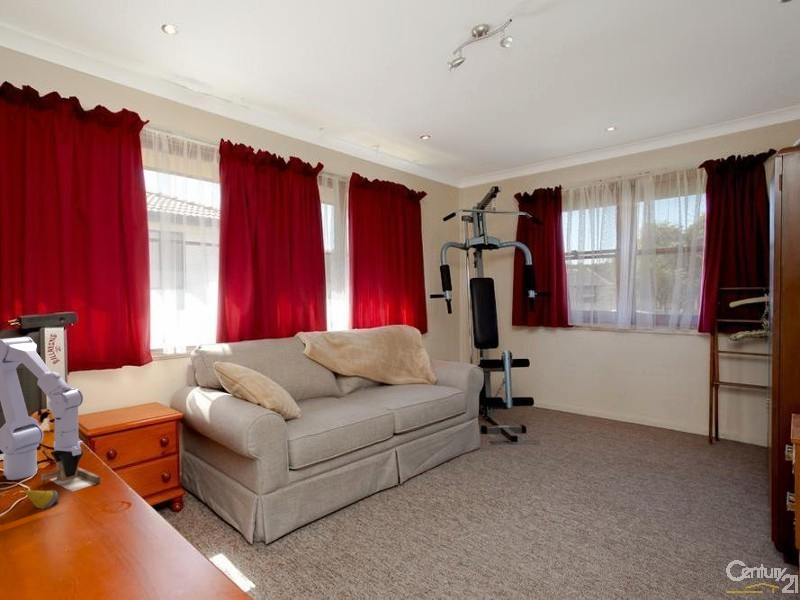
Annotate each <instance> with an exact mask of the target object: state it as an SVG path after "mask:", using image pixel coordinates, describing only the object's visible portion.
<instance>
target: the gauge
mask: <svg viewBox="0 0 800 600" xmlns="http://www.w3.org/2000/svg"><path fill="white" fill-rule="evenodd" d="M56 463H57V464H56ZM55 464H56V470H53V471H51V472H47V473H43V474H41V475H40V479H41V480H42V483H43V484H44V483H46V480H47V479H53V478H57V479H59V480H61V481H65V480H68V479H72V478H75V477H78V467H79V466H78V465H79V464H78V465H77V469H76V473H75V475H74V476H71V477H66V476H65V471H64V466H63V463H62V461H59V462H56V461H55Z"/></svg>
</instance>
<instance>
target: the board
mask: <svg viewBox="0 0 800 600" xmlns="http://www.w3.org/2000/svg"><path fill="white" fill-rule="evenodd" d="M49 481H50V482H53V483H55V484H56V485H58V486H61V487H63V488H65V489H66V490H68V491H70V492H71V493H72V492H76V491H79V490H82V489H85V488H88V487H91V486H95V485H97V484H100V483H101V476H100V475H98V474H96V473H93V472H91V471H88V470H86V469H84V468H82V467H80V466H78V477H75V478H72V479H68V480H65V481H61V480H59V479H57V477H52V478H49Z"/></svg>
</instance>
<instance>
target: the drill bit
mask: <svg viewBox="0 0 800 600" xmlns="http://www.w3.org/2000/svg"><path fill="white" fill-rule="evenodd" d="M23 492H24V493H25V495H26V496H27V497H28V498H29V500H30V501H31V502H32V503H33V505H34V506H35V508H36V509H44V510H42V511H40V512H45V511H46V510H45V509H47V508H51V507H52V506H53V505H54V504H56V503H58V502H59V501H60V500H61V499H60V498H58V494H59V493H58V491H56V490H55V489H49V490H35V489H34V490H32V489H31V490H28V489H26V490H25V489H24V490H23Z"/></svg>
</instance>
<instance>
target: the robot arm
mask: <svg viewBox="0 0 800 600" xmlns="http://www.w3.org/2000/svg"><path fill="white" fill-rule="evenodd" d="M37 345H38V344H37V343H35V341H34V340H33V339H32V338H31V337H29V336H21V337H10V338H9V337H8V338H0V405H1V408H2V412H3V417H4V420H5V423H4V424H3V425H2V426H1V427H0V451H1V452H2V453H3V455H4V456H3V458H2V459H3V460H2V461H3V462H2V463H3V465H2V466H3V476H5V477H6V480H8V481H9V480H11V481H15V480H22V479H25V478H29V477H32V476H34V475H36V474H37V473H38V457H37V456H38V453H37V452H38V451H37V450H38V449H37V448H38V447H40V443H42V441H43V440H44V430H43V427H41V426H40V424H39V421H38V419H36V418H34V417H31V416H29V414H28V409H27V406H26V405H27V404H26V403H25V398H24V393H23V391H22V390H23V389H22V387H21V383H20V379H19V376H18V373H17V368H18V366H19V365H20V364H22V365H24V366H25V367H26V368H27V369H28V370H29V371H30V372H31V373H32V374H33V375H34V376H35V377H36V378H37V386H38V387H39V388H40V389H41V391H42V392H43V393H44V394H45V395H46V397H48V399H49V400H50V401H48V405H49V408H50V409H51V412H52V417H54V441H53V443H52V444H53V445H52V446H53V449H54V451H51V452H50V454H51V456H52V457H53V460H54V462H55V464H56V465H57V463H56V462H59V461H62V463H63V466H64V471H65V476H66V477H71V476H74V475H75V473H76V469H77V465H79V462H80V460H81V458H82V457H83V455H84V451H82V447H81V446H80V445H82V444H84V441H83V440H79V407H80V406H82V404H83V402H84V396H83V393H82V392H81V390H80V389H78V388H74V387H72V386H70V385H69V384H68V383H67V382H66V381H65V380H64V378H63V377H62V375H61V374H60V373H59V372H57V371H51V370H50V369H49V367H48V366H47V365H46V363H45V362H44V361H43V359H42V357H41V356H40V355H39V354H38V352H37V349H38V348H37V347H38V346H37Z"/></svg>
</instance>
